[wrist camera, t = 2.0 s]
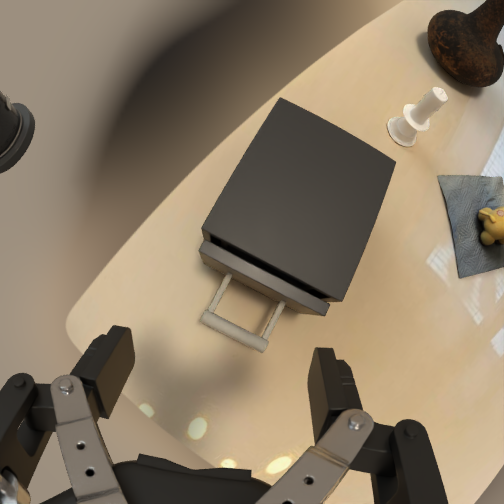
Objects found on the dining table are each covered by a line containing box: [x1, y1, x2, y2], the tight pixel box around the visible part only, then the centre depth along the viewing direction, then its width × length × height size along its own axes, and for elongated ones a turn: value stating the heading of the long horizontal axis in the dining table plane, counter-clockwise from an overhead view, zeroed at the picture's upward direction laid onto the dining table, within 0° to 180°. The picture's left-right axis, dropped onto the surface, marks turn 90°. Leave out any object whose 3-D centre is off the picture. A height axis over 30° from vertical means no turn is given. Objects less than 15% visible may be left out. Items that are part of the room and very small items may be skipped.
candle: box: [388, 87, 448, 147], centre depth 38 cm, size 5×5×12 cm
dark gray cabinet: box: [201, 97, 396, 302], centre depth 34 cm, size 16×14×11 cm
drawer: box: [199, 239, 330, 353], centre depth 33 cm, size 20×13×9 cm, turn 153°
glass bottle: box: [428, 0, 504, 87], centre depth 35 cm, size 18×18×28 cm
